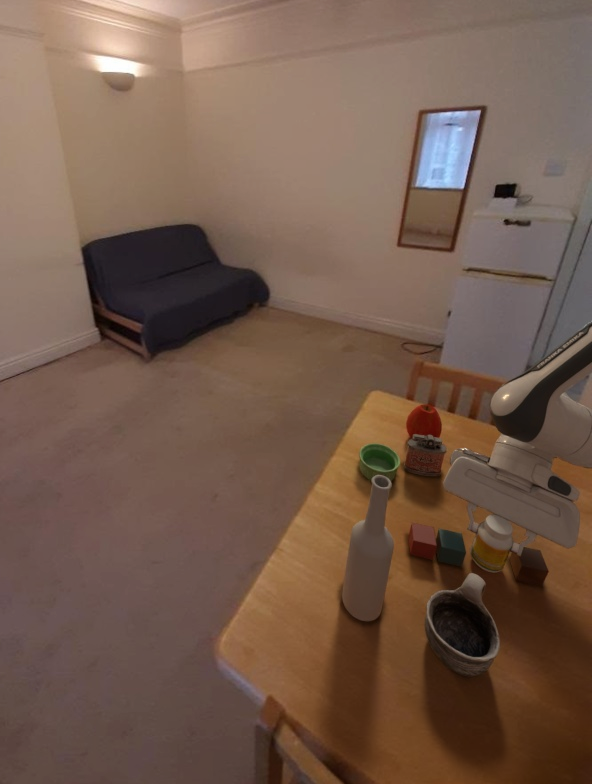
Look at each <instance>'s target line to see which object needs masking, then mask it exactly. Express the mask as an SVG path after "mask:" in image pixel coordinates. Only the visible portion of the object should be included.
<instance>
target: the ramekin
mask: <svg viewBox="0 0 592 784" xmlns="http://www.w3.org/2000/svg"><path fill="white" fill-rule="evenodd" d="M358 456H359V457H358V458H359V470H360V473H362V475H363V476H364V477H365V478H366V479H368V480H369V481H372V478H373V477H374V476H376V475H382V476H385V477H387V478H388V479H389V480H390V481H391V482H392V481H393V480H395V477H396V476H397V472H398V469H399V468H400V464H401V459H400V456H399V454H398V453H397V452H396V451H395V450H394V448H391V447H390V446H388V445H385V444H382V443H376V442H374V443H368V444H365V445H362V447H361V448H360V449H359V452H358Z"/></svg>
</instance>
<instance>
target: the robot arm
mask: <svg viewBox="0 0 592 784" xmlns="http://www.w3.org/2000/svg"><path fill="white" fill-rule="evenodd" d="M590 374H592V320H590V321H589V322H587V323H586V324H584V325H583V326H582V327H581V328H580V329H578V330H576V332H574V333H573V334H572V335H570V336H569V337H568V338H567V339H565V340H563V342H562V343H560V344H558V345H557V346H556V347H555V348H554V349H553V350H551V351H550V352H549V353H548V354H546V355H545V356H543V357H541V359H540V360H538V361H537V362H536V363H535V364H533V365H532V366H530V368H528V369H526V370H525V371H524V372H522V373H521V374H519V375H516V376H515V377H513V378H511V379H510V380H508V381H506V382H504V383H502V385H500V386H499V387H498V388H497V389H496V390H495V391H494V392H493V394H492V395H491V397H490V400H489V404H488V405H489V414H490V417H491V420H492V423H493V425H494V426H495V428H496V430H497V431H498V432H499V433H500V434H499V436H498V438H497V439H496V440H495V442H494V444H493V445H494V446H493V449H492V451H491V454H490V456H488V455H486V454H482V453H479V452H476V451H473V450H471V449H470V448H467V447H463V448H460V447H459V448H456V449H454V450H453V451H452V453H451V456H450V458H449V464H450V467H449V469H448V470H447V473H446V475H445V477H444V479H443V482H442V486H443V489H444V491H445V492H447V493H449V494H452V495H453V496H455V497H458V498H459V499H462V500H464V501H466V502H467V506H466V511H467V513H468V518H469V522H468V525H467V528H466V529H467V530H468V531H470V532H472V533H473V534H475V535H476V532H477V529H478V526H479V524H480V523H479V522H476V521H475V517H474V513H473V512H476V511H477V508H478V507H479V508H481V509H483V510H485V511H487V512H489V513H491V514H492V515H498V516H500V517H503V518H505V519H506V520H508V521H509V522H510V523H511V524H514V525H516V526H518V527H521V528H523V529H524V530H525V531H524V537H525V539H523V540H522V541H520V542H519V543H517V542H516V541H513V545H512V548H511V550H510V553H514V554H516V555H518V556H521V553H522V550H523V547H527V546H529V545H530V544H531V543H533V542H534V541H536V537H537V535H538V536H540V537H542V538H544V539H546V540H548V541H550V542H552V543H554V544H556V545H558V546H561V547H563V548H565V549H572V548H575V547H576V545H577V542H578V538H579V534H580V533H579V532H580V524H581V513H580V509H579V507H578V506H577V504H575V502H577V501H578V500H579V498H580V493H581V492H580V490H579V489H578V488H577V487H576V486H575V485H573V484H571V483H570V482H569V481H567V480H565V479H564V478H563V477H562V476H560V475H559V474H557V473H555V472H554V471H553V470H552V468H553V462H554V459H556V458H558V459H560V460H561V461H563V462H566V463H568V464H570V465H573V466H577V467H580V468H583V469H592V408H590V407H589V406H586V405H584V404H582V403H579V402H578V401H575V400H574V399H572V398H571V397H570V395H569V394H568V393H566V392H567V391H569V390H570V389H572V387H574V386H575V385H576V384H578V383H579V382H581V381H582V380H583V379H585V378H586V377H588V376H589V375H590Z"/></svg>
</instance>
